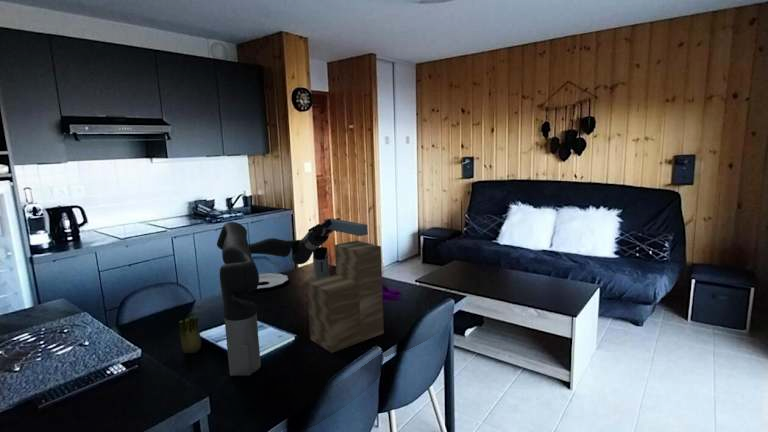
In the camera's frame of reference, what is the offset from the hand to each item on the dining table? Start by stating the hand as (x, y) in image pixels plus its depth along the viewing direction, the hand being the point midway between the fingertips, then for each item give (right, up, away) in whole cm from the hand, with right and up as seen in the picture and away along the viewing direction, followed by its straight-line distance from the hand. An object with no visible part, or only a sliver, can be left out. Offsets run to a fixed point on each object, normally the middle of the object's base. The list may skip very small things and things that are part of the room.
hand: (334, 220), depth 161 cm
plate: (-43, -33, +55) cm, 77 cm away
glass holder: (-13, -31, +63) cm, 71 cm away
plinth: (+6, -41, -10) cm, 42 cm away
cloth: (+19, -35, +30) cm, 50 cm away
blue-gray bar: (+4, -4, -5) cm, 7 cm away
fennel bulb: (-46, -44, -18) cm, 66 cm away
